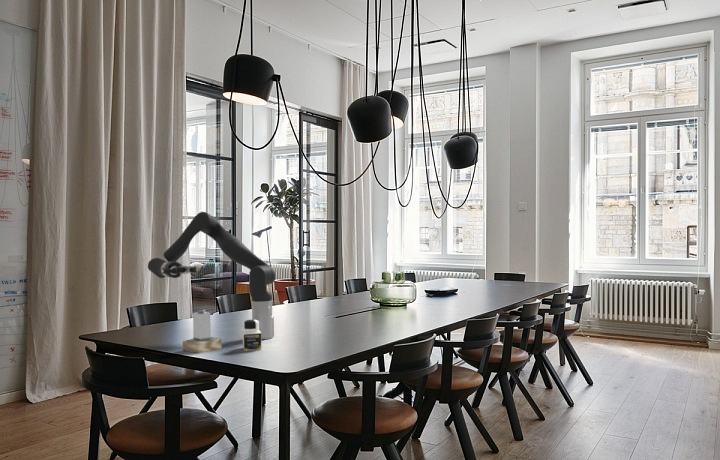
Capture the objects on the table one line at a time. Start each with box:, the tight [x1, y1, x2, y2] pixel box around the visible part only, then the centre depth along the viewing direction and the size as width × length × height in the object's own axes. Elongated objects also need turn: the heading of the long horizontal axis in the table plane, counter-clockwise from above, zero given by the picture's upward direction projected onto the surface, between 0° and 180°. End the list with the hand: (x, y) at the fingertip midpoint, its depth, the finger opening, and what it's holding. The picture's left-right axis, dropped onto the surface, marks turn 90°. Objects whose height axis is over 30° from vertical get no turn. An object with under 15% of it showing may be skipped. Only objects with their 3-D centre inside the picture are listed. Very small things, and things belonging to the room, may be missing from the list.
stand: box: [182, 336, 223, 354], centre depth 243 cm, size 12×10×4 cm
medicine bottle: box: [242, 319, 262, 352], centre depth 243 cm, size 7×7×12 cm
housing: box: [192, 309, 211, 341], centre depth 243 cm, size 7×5×12 cm
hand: (185, 270), depth 257 cm, fingers open, 8 cm apart
